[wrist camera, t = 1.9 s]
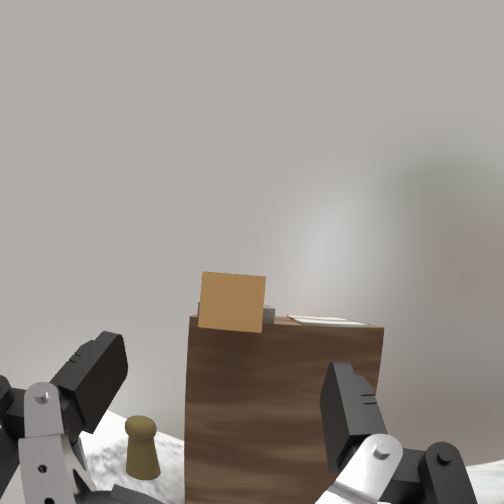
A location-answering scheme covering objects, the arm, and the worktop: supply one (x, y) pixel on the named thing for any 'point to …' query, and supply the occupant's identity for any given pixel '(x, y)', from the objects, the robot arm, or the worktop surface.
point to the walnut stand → (266, 406)
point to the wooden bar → (232, 302)
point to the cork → (141, 448)
